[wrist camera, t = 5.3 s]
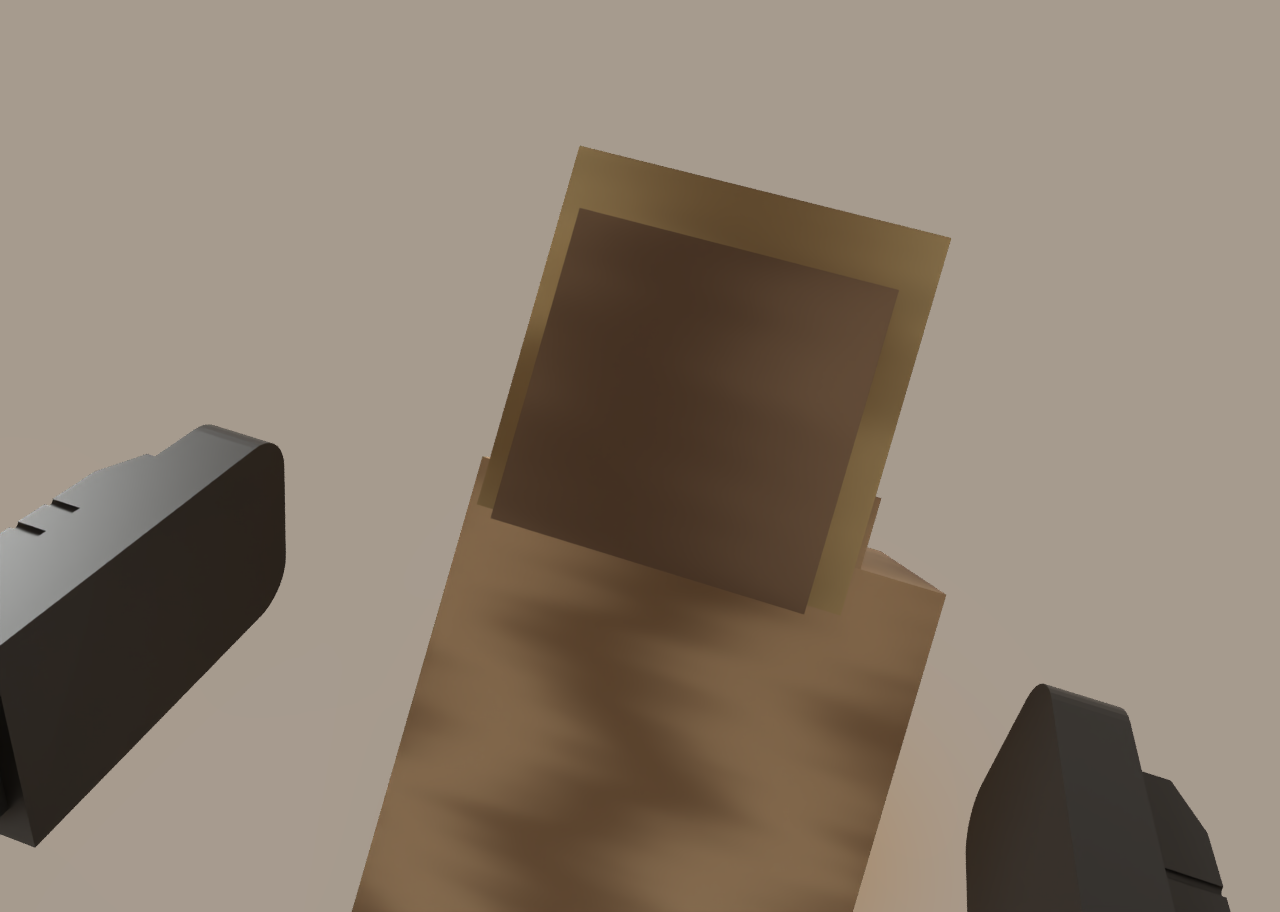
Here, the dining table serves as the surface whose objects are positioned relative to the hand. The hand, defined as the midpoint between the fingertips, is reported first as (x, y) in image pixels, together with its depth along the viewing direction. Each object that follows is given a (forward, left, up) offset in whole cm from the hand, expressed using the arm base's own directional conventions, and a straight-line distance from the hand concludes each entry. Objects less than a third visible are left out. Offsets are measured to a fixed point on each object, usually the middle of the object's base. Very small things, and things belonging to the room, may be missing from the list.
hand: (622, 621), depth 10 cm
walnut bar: (0, +15, +1) cm, 15 cm away
